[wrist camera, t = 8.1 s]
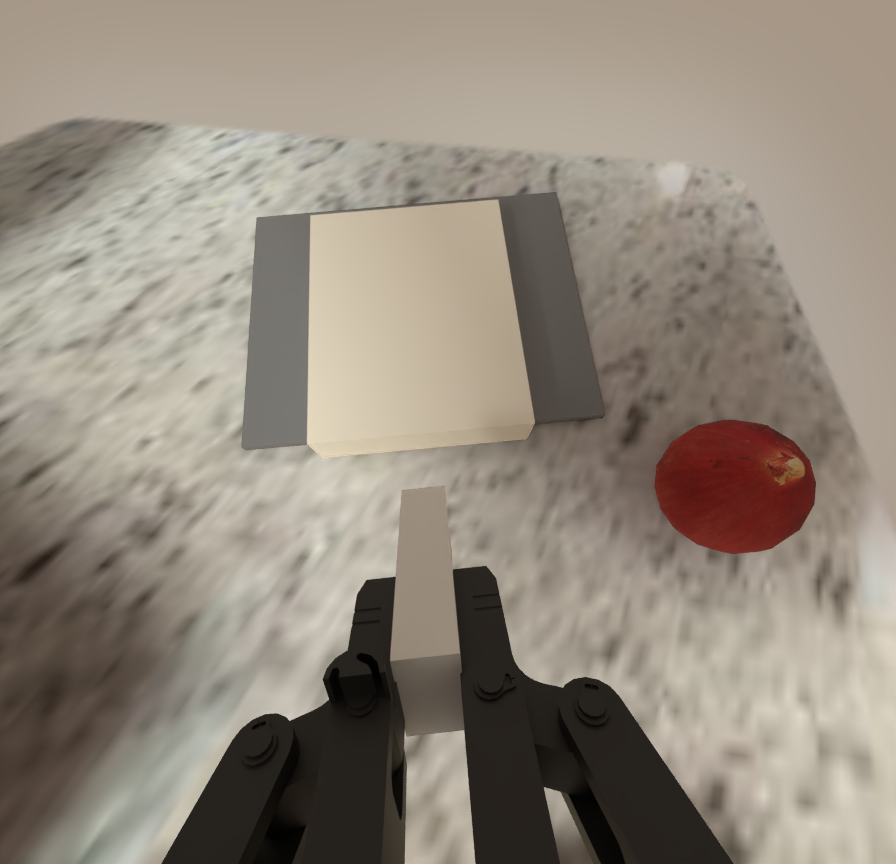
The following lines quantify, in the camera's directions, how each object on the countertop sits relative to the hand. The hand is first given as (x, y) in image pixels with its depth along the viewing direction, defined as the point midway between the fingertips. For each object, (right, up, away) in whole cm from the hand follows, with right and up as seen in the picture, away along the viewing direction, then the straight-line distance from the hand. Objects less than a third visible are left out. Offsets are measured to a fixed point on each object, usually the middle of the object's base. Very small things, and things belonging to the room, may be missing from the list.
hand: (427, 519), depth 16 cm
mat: (-1, +11, +11) cm, 16 cm away
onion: (+13, -1, +7) cm, 15 cm away
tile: (0, +3, +6) cm, 7 cm away
